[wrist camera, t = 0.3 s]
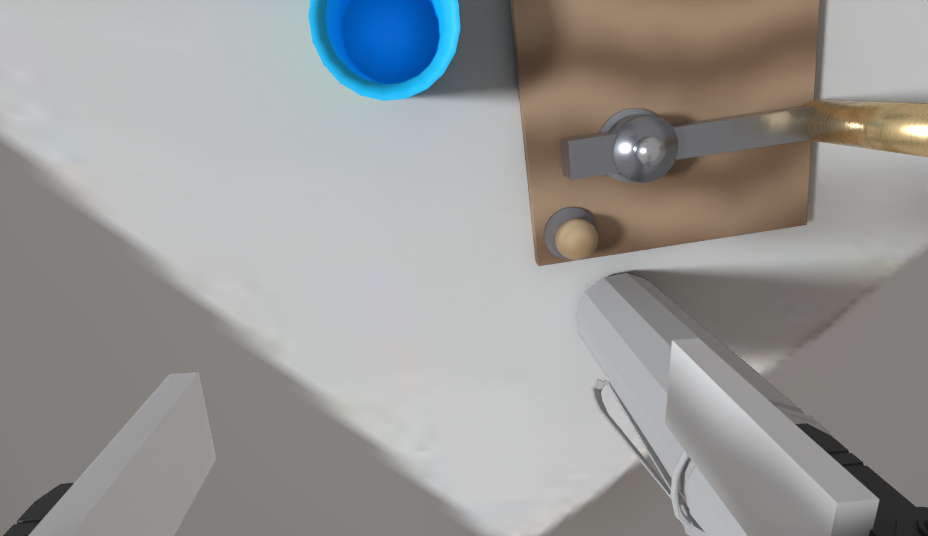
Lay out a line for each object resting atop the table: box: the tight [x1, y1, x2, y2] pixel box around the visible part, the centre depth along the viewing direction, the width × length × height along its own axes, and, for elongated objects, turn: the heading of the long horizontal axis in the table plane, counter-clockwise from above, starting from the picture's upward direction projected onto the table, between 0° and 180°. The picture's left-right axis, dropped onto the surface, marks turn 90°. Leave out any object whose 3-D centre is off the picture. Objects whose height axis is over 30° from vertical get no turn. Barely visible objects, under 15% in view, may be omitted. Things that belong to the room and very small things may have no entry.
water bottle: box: [576, 273, 833, 536], centre depth 34 cm, size 9×8×25 cm
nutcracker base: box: [510, 0, 820, 266], centre depth 38 cm, size 27×21×4 cm
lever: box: [560, 100, 928, 183], centre depth 35 cm, size 20×4×11 cm, turn 98°
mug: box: [309, 0, 461, 101], centre depth 34 cm, size 12×8×8 cm
